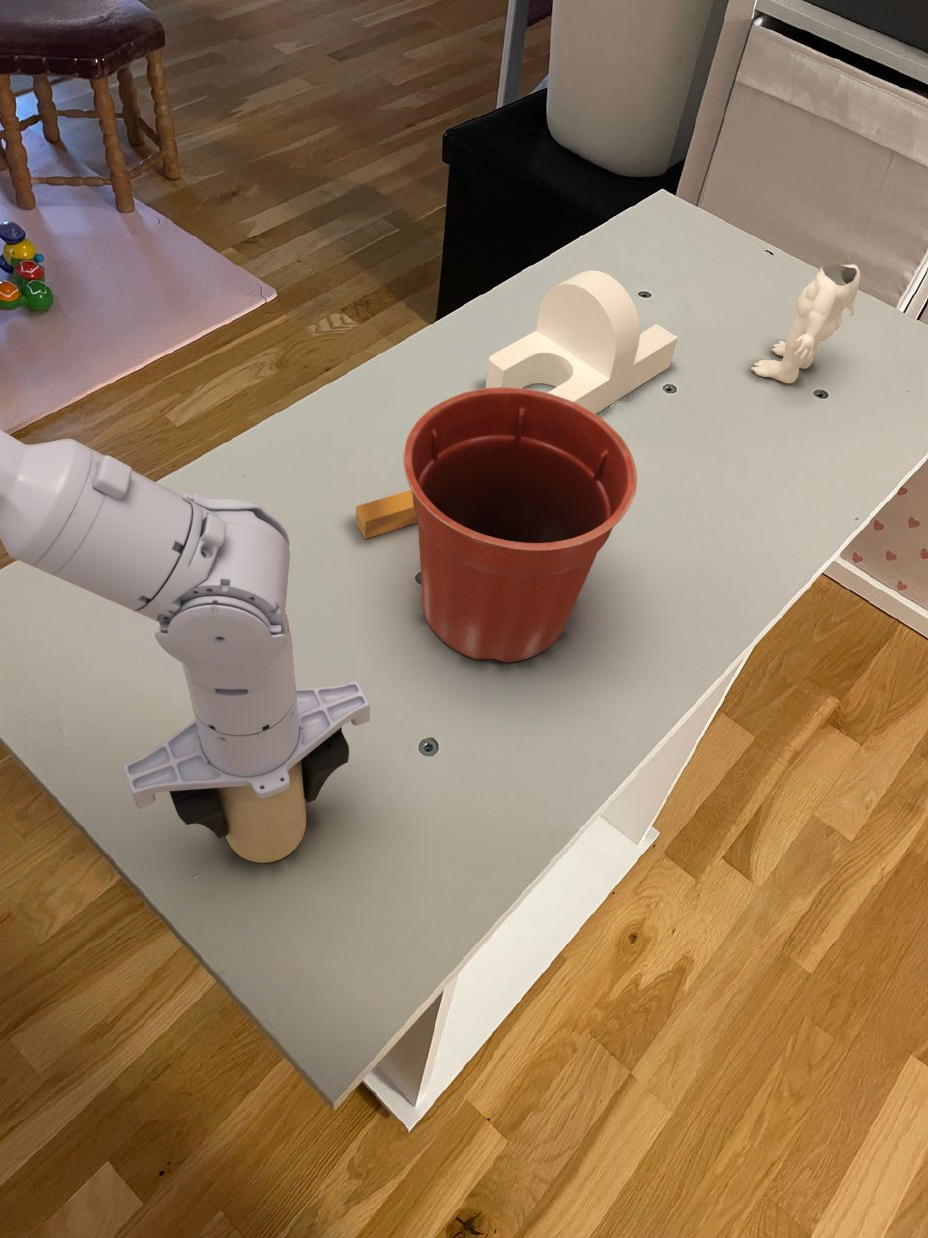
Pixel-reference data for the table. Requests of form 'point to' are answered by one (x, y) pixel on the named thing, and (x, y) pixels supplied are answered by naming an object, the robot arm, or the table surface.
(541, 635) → the flower pot
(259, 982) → the table surface
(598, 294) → the block with arch cutout
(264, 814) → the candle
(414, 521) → the fry stick
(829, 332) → the toy creature
